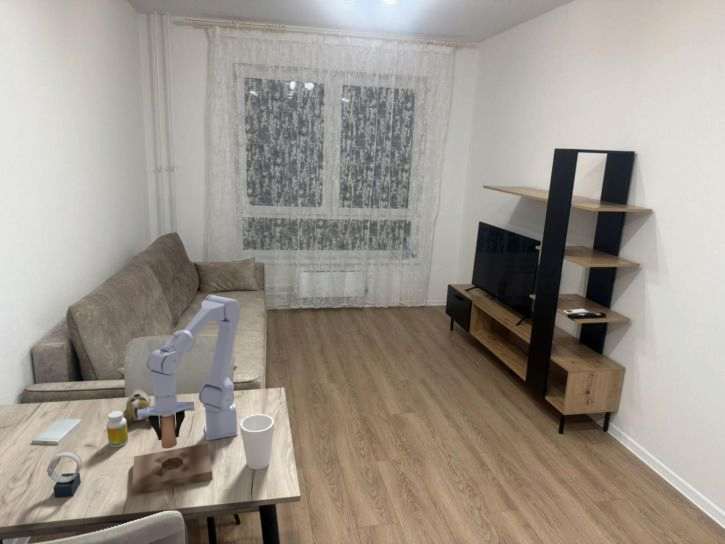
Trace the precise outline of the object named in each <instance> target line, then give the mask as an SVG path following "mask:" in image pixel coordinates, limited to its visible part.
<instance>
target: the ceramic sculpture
mask: <svg viewBox="0 0 725 544" xmlns="http://www.w3.org/2000/svg"><path fill="white" fill-rule="evenodd" d="M151 401H152V399H151V397H150V396H149V394H148V393H146V392H145V391H143V390H142V389H140V388H136V389H135V390H134V392H133V393H131V394H130V396H129V397H128V399H127V401H126V408H125V411H124V412H123V417H124V418H125V419H126V423H127V426H128V425H130V424H131V423H132V421H133V422H137V421H142V420H145V421H147V422H149V417H144V418H142V419H139V420H138V414H137V413H138V410H140V409H144V408H148V407H151Z"/></svg>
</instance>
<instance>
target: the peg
mask: <svg viewBox="0 0 725 544" xmlns="http://www.w3.org/2000/svg"><path fill="white" fill-rule="evenodd" d="M159 425H160V432H161V440H160V441H161V442H160V443H161V448H163V449H166V450H167V449H168V450H170V449H172V448H174V447H176V446H177V444H178V440H177V438H178V437H176V416H175V413H173V414H171V415H170V416H167V417H163V416H162V415H159Z"/></svg>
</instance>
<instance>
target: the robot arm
mask: <svg viewBox="0 0 725 544" xmlns="http://www.w3.org/2000/svg"><path fill="white" fill-rule="evenodd" d="M241 308H242V306H241V304H240V302H239V301H238V299H236V298H229V297H225V296H219V295H215V294H208V295H207V296H206V297H205V299H204V300H203V301H201V303H200V309H199V311H198V312H197V313H196V315H195V316H194V317H193V318H192V319H191V320H190V322H189V323H188V324H187V326H186V327H185V328H184V329H183V330H181V329H179V330H177V331H175V332H174V333H173V334H172V336H171V337H170V338H169V339H168V340H167V341H166V342H165V344H164V345H162V346H161V347H160V348H159V349H156V350H154V351H152V352H151V353H150V354H149V355H148V358H147V360H146V363H145V367H146V368H147V370H149V371H150V376H151V377H152V388H153V398H154V405H152V406H151V405H150V406H151V407H148V408H144V409H140V410H138V413H137V414H138V420H139V419H142V418H144V417H149V421H148V423H149V425H150V426H151V427H152V429H153V431H154V432H155V434H156V436H157V440H158V441H161V432H160V420H159V416H160V415H162V416H163V417H167V416H170V415H171V414H173V413H174V414H175V424H176V438H179V437H180V432H181V431H180V430H181V428H182V427H181V426H182V424H183V422H184V421H185V418H186V413H185V412H188V411H190V412H195V410H196V409H195V401H178V397H177V396H178V394H177V383H176V371H177V370H178V368H179V365H180V363H181V361H182V359H183V356H184V355H185V354H186V353H187V352H188V351H189V349H190V348H191V347H192V346H193V345H194V342H195V341H194V339H195V337H196V336H197V335H198V334H199V333H200V332H201V331H202V330H204V329H205V328H206V327H207V326H208V325H209V324H210V323H211V322H215V323H216V324H217V325H218V326H219V327H218V331H217V338H216V343H215V347H214V348H215V349H214V353H213V354H214V355H213V361H212V364H211V365H212V366H211V372H210V376H208V377H206V378H205V379H204V380H203V381H202V386H201V387H200V389H199V391H198V402H200V403H201V404H202V406H203V408H204V411H205V415H204V416H205V426H204V435H205V440H206V441H211V440H216V439H222V438H228V437H233V436H238V418H237V417H238V416H237V415H238V414H237V407H236V403H235V402H234V401H235V393H234V392H235V384H234V383H233V382H232V381H231V379H230V377H229V375H230V374H229V373H230V369H231V365H232V364H231V363H232V359H233V352H234V347H235V341H236V335H237V330H238V324H239V320H240V316H241V315H240V314H241ZM139 421H140V420H139Z"/></svg>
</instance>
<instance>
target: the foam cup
mask: <svg viewBox="0 0 725 544" xmlns="http://www.w3.org/2000/svg"><path fill="white" fill-rule="evenodd" d="M239 427H240V428H239V429H240V430H239V431H240V436H241V439H242V445H243V450H244V454H245V455H244V456H245V459H246V464H247V465H246V466H247V467H248V468H249V469H250V470H253V471H254V470H255V471H256V470H263V469H265V468H266V467H268V466H269V464H270V460H271V453H272V444H273V438H274V431H275V420H274V418H273V417H271V416H270V415H267V414H264V413H254V414H252V415H247V416H246V417H244V418H243V419H241V421H240V422H239Z"/></svg>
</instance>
